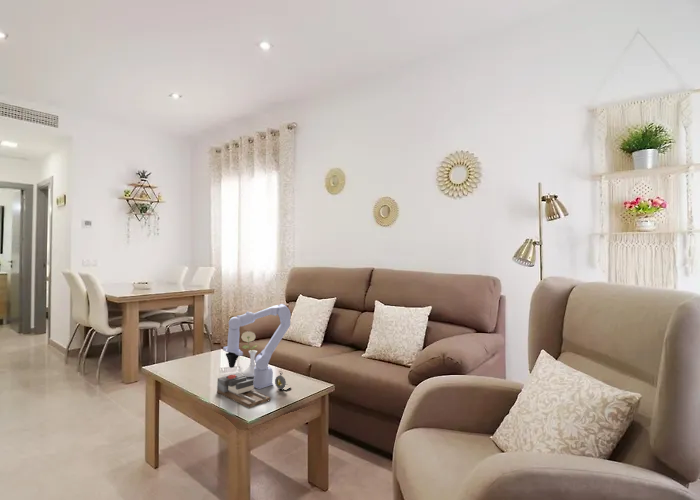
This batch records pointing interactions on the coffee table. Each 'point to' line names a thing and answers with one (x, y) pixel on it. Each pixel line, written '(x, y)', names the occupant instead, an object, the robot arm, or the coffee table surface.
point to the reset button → (231, 376)
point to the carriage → (240, 385)
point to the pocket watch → (280, 381)
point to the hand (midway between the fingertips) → (231, 367)
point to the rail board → (243, 398)
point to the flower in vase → (248, 338)
